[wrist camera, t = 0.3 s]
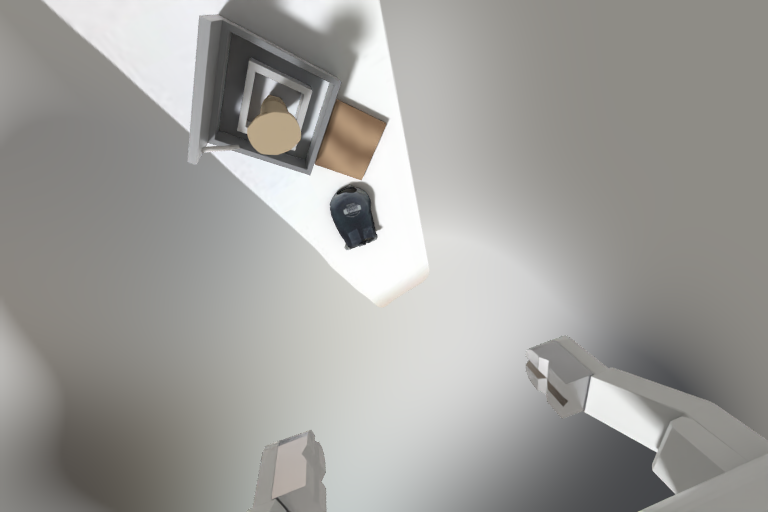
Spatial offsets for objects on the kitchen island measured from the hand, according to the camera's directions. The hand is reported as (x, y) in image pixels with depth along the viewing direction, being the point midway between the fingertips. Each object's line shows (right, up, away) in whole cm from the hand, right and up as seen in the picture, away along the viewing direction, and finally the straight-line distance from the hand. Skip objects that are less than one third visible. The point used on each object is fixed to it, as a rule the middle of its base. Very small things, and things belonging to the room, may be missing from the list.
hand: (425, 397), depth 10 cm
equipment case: (-20, +30, +35) cm, 50 cm away
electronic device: (-9, +15, +54) cm, 57 cm away
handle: (-20, +30, +35) cm, 50 cm away
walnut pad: (-8, +27, +43) cm, 51 cm away
